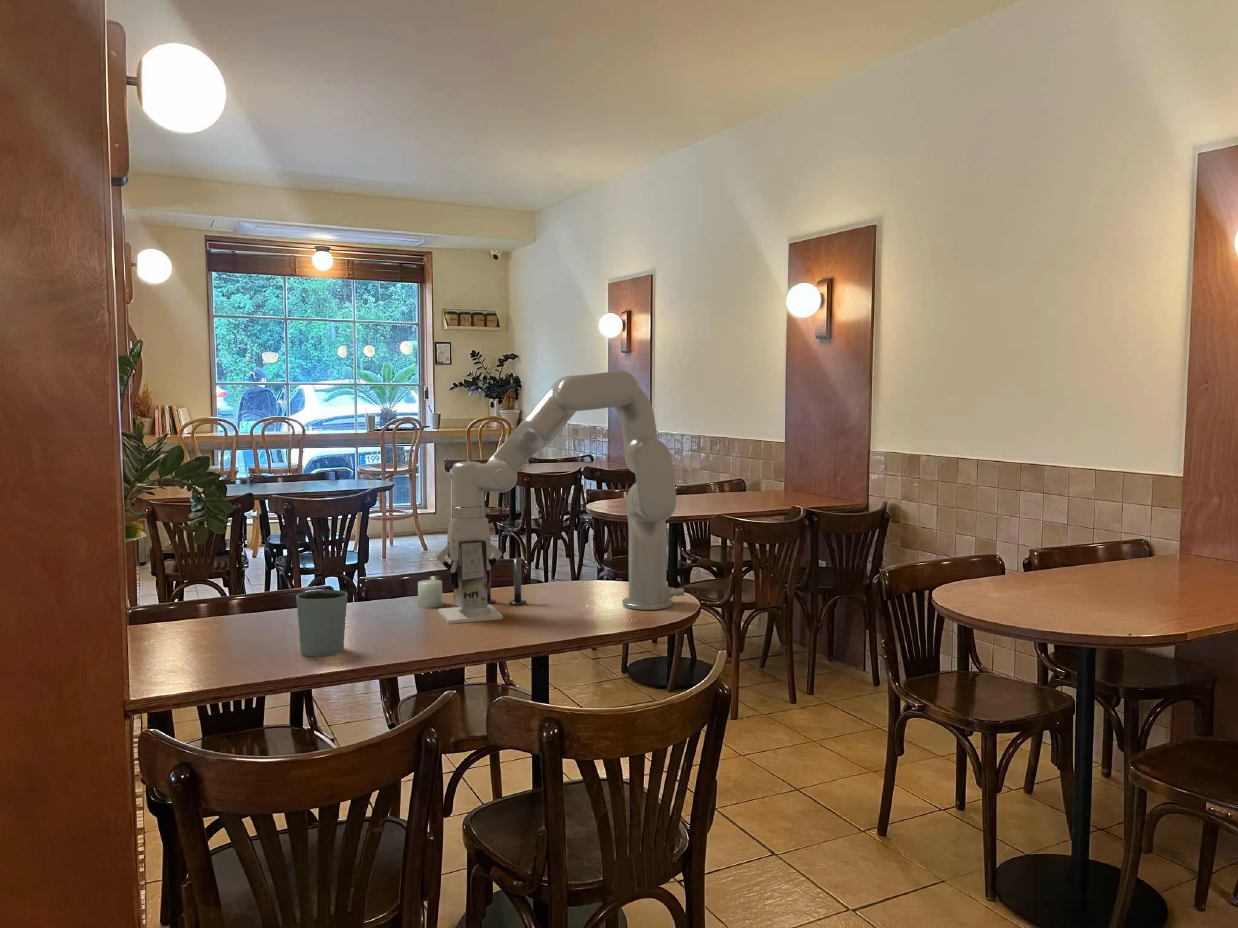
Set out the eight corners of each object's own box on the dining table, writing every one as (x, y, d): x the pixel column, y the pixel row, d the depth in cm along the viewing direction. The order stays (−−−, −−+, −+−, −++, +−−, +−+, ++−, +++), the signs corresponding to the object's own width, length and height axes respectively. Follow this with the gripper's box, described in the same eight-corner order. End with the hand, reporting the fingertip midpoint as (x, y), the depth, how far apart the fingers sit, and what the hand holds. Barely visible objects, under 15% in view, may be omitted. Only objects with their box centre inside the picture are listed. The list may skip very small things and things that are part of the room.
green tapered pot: (289, 651, 192) (287, 594, 191) (334, 642, 199) (332, 587, 198) (311, 660, 185) (310, 601, 184) (357, 650, 192) (356, 593, 191)
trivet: (490, 607, 231) (490, 604, 231) (502, 618, 219) (502, 615, 219) (438, 611, 227) (438, 608, 227) (448, 623, 215) (448, 620, 214)
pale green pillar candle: (440, 601, 238) (439, 578, 238) (444, 606, 233) (443, 583, 232) (416, 603, 236) (416, 580, 236) (420, 608, 231) (419, 585, 230)
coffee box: (488, 607, 220) (487, 541, 219) (462, 610, 217) (461, 543, 216) (477, 600, 228) (476, 536, 227) (452, 603, 226) (451, 537, 225)
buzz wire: (519, 598, 242) (519, 554, 241) (528, 604, 234) (528, 559, 233) (449, 604, 235) (449, 559, 235) (456, 611, 228) (455, 564, 227)
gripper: (500, 509, 228) (501, 581, 229) (429, 513, 222) (431, 586, 223) (507, 513, 221) (509, 587, 222) (435, 516, 215) (436, 592, 216)
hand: (470, 586), depth 222 cm, fingers closed on coffee box, 6 cm apart
